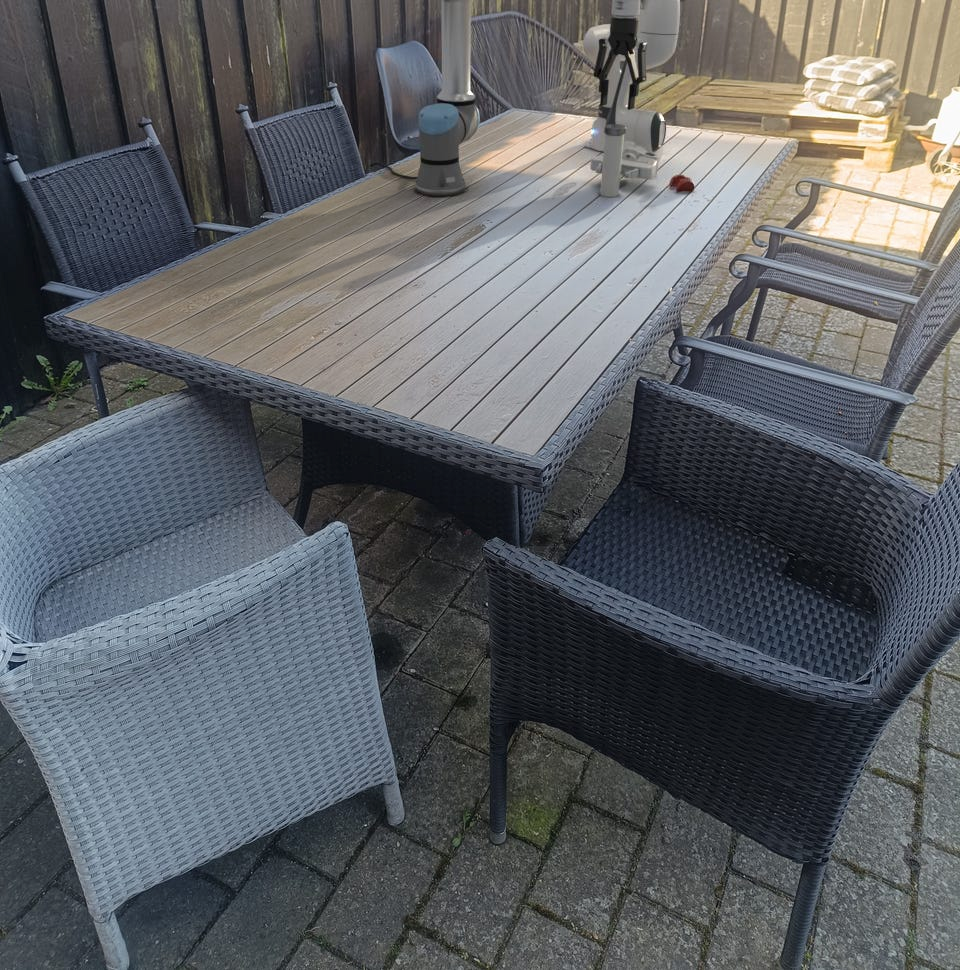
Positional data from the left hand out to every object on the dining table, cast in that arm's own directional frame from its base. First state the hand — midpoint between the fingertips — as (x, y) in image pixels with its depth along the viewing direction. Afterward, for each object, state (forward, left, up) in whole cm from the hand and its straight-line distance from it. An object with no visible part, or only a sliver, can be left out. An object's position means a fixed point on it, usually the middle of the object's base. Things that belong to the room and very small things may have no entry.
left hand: (617, 106), depth 240 cm
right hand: (0, 0, -18) cm, 18 cm away
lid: (0, 0, -6) cm, 6 cm away
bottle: (0, 0, -25) cm, 25 cm away
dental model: (+15, +18, -25) cm, 34 cm away
